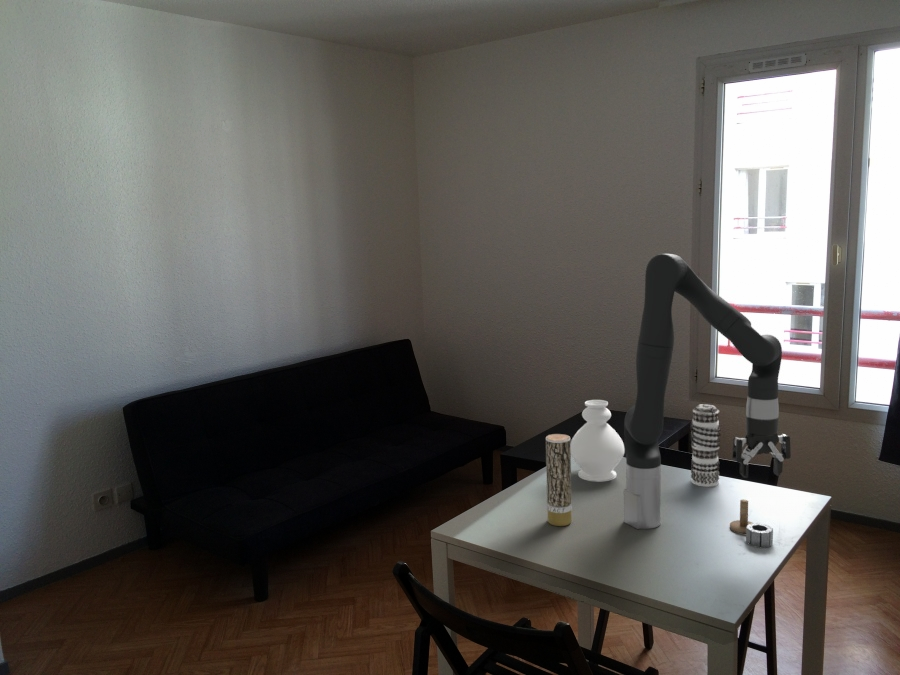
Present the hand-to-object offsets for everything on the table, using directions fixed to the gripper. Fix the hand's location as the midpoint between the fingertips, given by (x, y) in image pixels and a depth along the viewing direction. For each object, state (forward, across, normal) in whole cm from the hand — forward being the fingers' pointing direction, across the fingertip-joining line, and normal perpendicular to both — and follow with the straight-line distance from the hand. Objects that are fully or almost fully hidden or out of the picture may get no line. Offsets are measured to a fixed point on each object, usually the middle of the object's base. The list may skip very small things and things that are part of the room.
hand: (760, 475), depth 186 cm
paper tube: (+18, +47, -22) cm, 55 cm away
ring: (+18, 0, 0) cm, 18 cm away
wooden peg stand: (+18, 0, -8) cm, 20 cm away
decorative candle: (+18, -5, -44) cm, 48 cm away
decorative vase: (+18, +26, -58) cm, 66 cm away
